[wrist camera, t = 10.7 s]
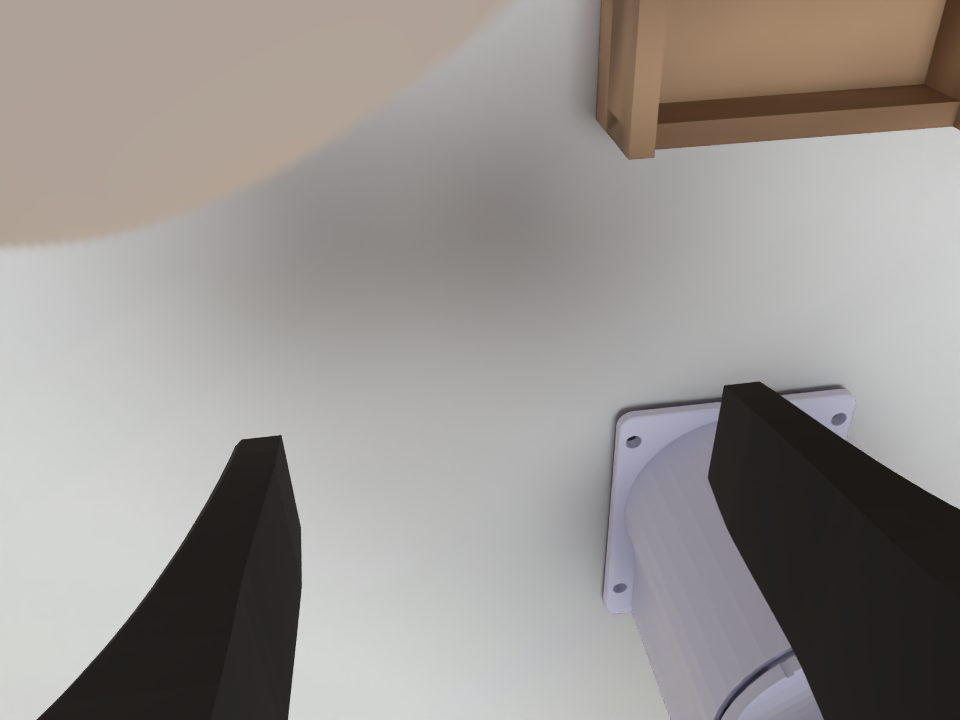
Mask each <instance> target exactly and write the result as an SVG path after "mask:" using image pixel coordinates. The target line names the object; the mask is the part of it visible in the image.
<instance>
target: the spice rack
mask: <svg viewBox="0 0 960 720" xmlns="http://www.w3.org/2000/svg"><path fill="white" fill-rule="evenodd" d="M596 120H597V121H598V122H599V123H600V125H601V126H602V127H603V128H604V130H605V131H606V132H607V133H608V135H609V136H610V137H611V138H612V140H613V141H614V142H615V143H616V145H617V146H618V147H619V148H620V150H621V151H622V152H623V153H624V155H625V156H626V157H627V158H628V160H630V159H643V158H654V154H655V150H656V149H669V148H682V147H694V146H707V145H720V144H733V143H746V142H759V141H771V140H784V139H797V138H810V137H823V136H836V135H848V134H861V133H874V132H887V131H900V130H912V129H925V128H938V127H951V126H953V127H955V128H957V129H959V130H960V0H602V3H601V24H600V45H599V66H598V87H597V108H596Z"/></svg>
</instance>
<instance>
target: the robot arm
mask: <svg viewBox="0 0 960 720" xmlns="http://www.w3.org/2000/svg"><path fill="white" fill-rule="evenodd" d="M855 406H856V400H855V398H854V396H853V395H852V394H851V393H850V392H849V391H848V390H846V389H834V390H825V391H816V392H807V393H797V394H788V395H779V394H778V393H776V392H775V391H773V390H772V389H770V388H769V387H767V386H766V385H764V384H762V383H761V382H752V383H743V384H734V385H725V386H724V390H723V395H722V401H721V402H714V403H704V404H695V405H686V406H677V407H667V408H658V409H649V410H640V411H632V412H628V413H626V414H624V415H623V416H621V417H620V419H619V420H618V422H617V426H616V439H615V452H614V465H613V478H612V491H611V504H610V517H609V529H608V542H607V555H606V568H605V581H604V594H603V603H604V606H605V609H606V611H607V612H609V613H612V614H620V613H628V612H633V615H634V618H635V621H636V624H637V627H638V629H639V632H640V635H641V638H642V641H643V643H644V646H645V649H646V652H647V655H648V658H649V660H650V663H651V666H652V669H653V672H654V674H655V677H656V680H657V683H658V686H659V689H660V691H661V694H662V697H663V700H664V703H665V706H666V708H667V711H668V714H669V717H670V720H960V509H958V508H956V507H954V506H952V505H950V504H948V503H946V502H945V501H943V500H941V499H939V498H937V497H936V496H934V495H932V494H930V493H929V492H927V491H925V490H923V489H922V488H920V487H918V486H917V485H915V484H913V483H912V482H910V481H908V480H907V479H905V478H903V477H902V476H900V475H898V474H897V473H895V472H893V471H892V470H890V469H889V468H887V467H885V466H884V465H882V464H881V463H879V462H878V461H876V460H874V459H873V458H871V457H870V456H868V455H867V454H865V453H864V452H862V451H861V450H859V449H858V448H856V447H855V446H853V445H852V444H850V443H849V442H847V441H846V438H847V434H848V431H849V427H850V424H851V420H852V416H853V413H854V409H855ZM836 414H839V415H838V416H836V417H834V416H835V415H836ZM833 417H834V418H833ZM632 436H637V437H636V438H635V439H634V440H631V441H627V439H628V438H630V437H632ZM301 588H302V569H301V527H300V522H299V517H298V512H297V507H296V503H295V498H294V493H293V488H292V484H291V479H290V474H289V469H288V464H287V460H286V455H285V450H284V445H283V440H282V436H281V435H279V436H270V437H261V438H252V439H243V440H241V441H240V442H239V443H238V444H237V445H236V446H235V448H234V451H233V453H232V455H231V457H230V459H229V461H228V463H227V465H226V467H225V469H224V471H223V473H222V475H221V477H220V479H219V481H218V483H217V485H216V486H215V488H214V490H213V492H212V494H211V495H210V497H209V499H208V501H207V503H206V504H205V506H204V508H203V509H202V511H201V513H200V514H199V516H198V518H197V519H196V521H195V523H194V524H193V526H192V528H191V529H190V531H189V533H188V534H187V536H186V538H185V539H184V541H183V543H182V544H181V546H180V547H179V549H178V550H177V552H176V553H175V555H174V556H173V558H172V559H171V561H170V562H169V563H168V565H167V566H166V568H165V569H164V571H163V572H162V574H161V575H160V577H159V578H158V580H157V581H156V583H155V584H154V585H153V587H152V588H151V590H150V591H149V592H148V594H147V595H146V596H145V598H144V599H143V600H142V602H141V603H140V604H139V606H138V607H137V608H136V610H135V611H134V612H133V614H132V615H131V616H130V617H129V619H128V620H127V621H126V622H125V624H124V625H123V626H122V627H121V629H120V630H119V631H118V632H117V633H116V635H115V636H114V637H113V638H112V640H111V641H110V642H109V643H108V644H107V646H106V647H105V648H104V649H103V650H102V651H101V652H100V653H99V655H98V656H97V657H96V658H95V659H94V660H93V661H92V662H91V663H90V665H89V666H88V667H87V668H86V669H85V670H84V671H83V672H82V674H81V675H80V676H79V677H78V678H77V679H76V680H75V681H74V682H73V683H72V685H71V686H70V687H69V688H68V689H67V690H66V691H65V692H64V693H63V694H62V695H61V696H60V697H59V698H58V699H57V700H56V701H55V702H54V703H53V704H52V705H51V706H50V707H49V708H48V709H47V710H46V711H45V712H44V713H43V714H42V715H41V716H40V717H39V718H38V719H37V720H288V713H289V704H290V695H291V685H292V676H293V666H294V657H295V647H296V638H297V628H298V619H299V609H300V599H301Z"/></svg>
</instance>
